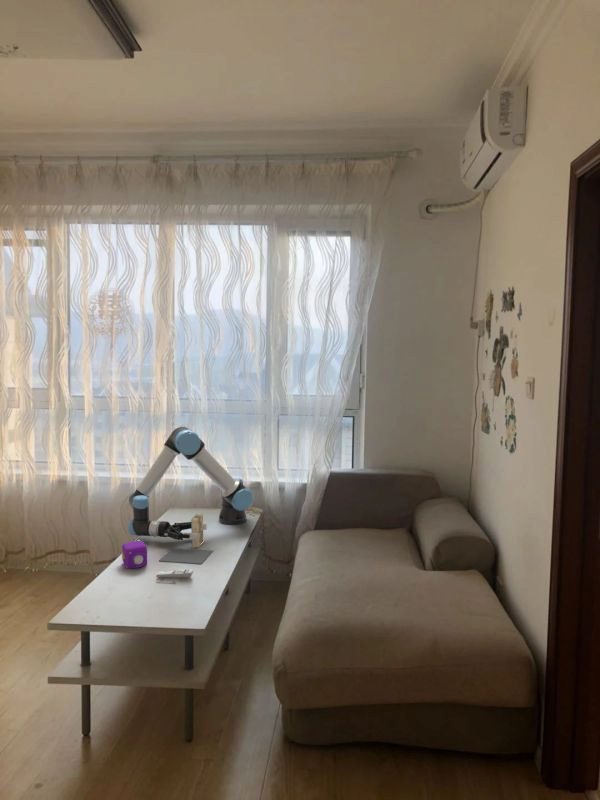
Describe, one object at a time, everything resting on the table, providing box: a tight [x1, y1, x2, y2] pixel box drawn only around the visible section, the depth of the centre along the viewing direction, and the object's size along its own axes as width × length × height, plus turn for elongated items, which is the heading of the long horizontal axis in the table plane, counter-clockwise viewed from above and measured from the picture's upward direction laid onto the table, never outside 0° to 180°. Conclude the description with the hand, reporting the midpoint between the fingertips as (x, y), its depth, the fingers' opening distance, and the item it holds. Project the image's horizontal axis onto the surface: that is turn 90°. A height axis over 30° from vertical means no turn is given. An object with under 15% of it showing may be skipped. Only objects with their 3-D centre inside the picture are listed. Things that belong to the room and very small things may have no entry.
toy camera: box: [121, 539, 148, 569], centre depth 256 cm, size 11×14×10 cm
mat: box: [158, 547, 214, 565], centre depth 267 cm, size 16×20×1 cm
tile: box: [190, 513, 204, 548], centre depth 281 cm, size 8×3×14 cm, turn 170°
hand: (201, 531), depth 281 cm, fingers open, 13 cm apart
